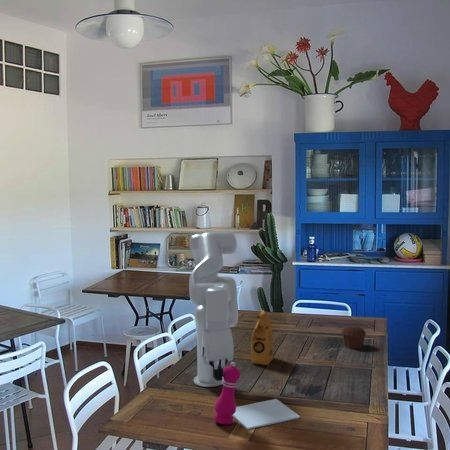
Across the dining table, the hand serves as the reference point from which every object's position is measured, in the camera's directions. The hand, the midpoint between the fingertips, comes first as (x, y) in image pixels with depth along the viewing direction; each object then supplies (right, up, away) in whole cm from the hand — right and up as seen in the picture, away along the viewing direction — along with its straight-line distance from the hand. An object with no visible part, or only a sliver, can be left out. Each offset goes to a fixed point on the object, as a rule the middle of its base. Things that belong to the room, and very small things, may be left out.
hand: (218, 379), depth 174 cm
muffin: (+65, -8, +83) cm, 105 cm away
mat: (+15, -14, +8) cm, 22 cm away
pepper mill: (+2, -15, +2) cm, 15 cm away
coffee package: (+19, -10, +63) cm, 67 cm away
